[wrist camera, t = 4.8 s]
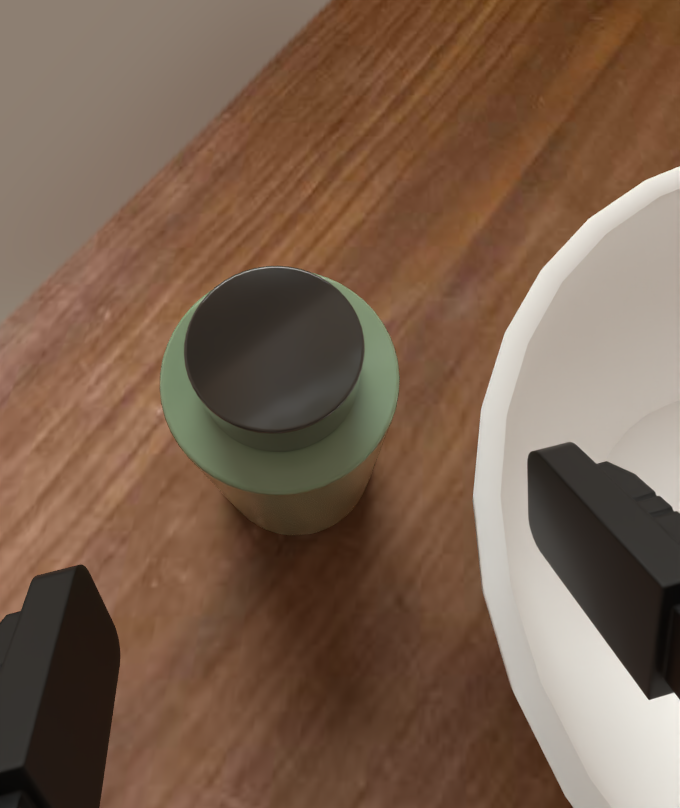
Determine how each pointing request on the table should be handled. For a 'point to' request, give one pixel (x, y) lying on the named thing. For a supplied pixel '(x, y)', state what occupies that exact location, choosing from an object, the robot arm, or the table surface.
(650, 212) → the bowl
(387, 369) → the pepper shaker
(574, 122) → the table surface
